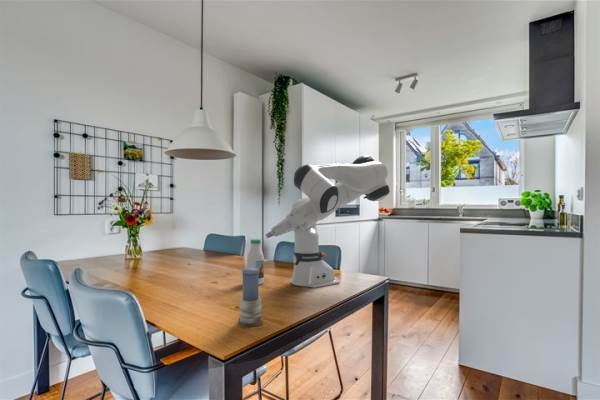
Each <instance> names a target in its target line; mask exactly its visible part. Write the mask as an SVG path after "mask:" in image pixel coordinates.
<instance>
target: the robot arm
mask: <svg viewBox="0 0 600 400" xmlns="http://www.w3.org/2000/svg"><path fill="white" fill-rule="evenodd" d="M388 174H389V171H388V168H387V166H386V165H385V164H384V163H383V162H381V161H375V159H374V158H373V156H371V155H369V154H364V155H360V156H358V157H357V158H356V159H354V161H353V162H352V163H351V164H350V163H343V162H342V163H341V162H339V163H337V162H336V163H329V164H328V163H327V164H318V165H314V164H310V163H309V164H304V165H302V166H300V167H298V168H297V169H296V170H295V171H294V174H293V175H294V176H293V185H294V187H296V188H297V189H298V190H299V191H300V192H302V193H303V194H304V195H305V196H306V197H304V198H298V199H296V201H294V203H293V204H292V206H291V211H290V212H289V213H288V214H287V216H285V218H284V219H282V220H281V221H280V222H278V223H276V225H274V226H273V227H272V228H270V231H268V232H267V233H265V238H266V239H270V238H272V237H280V236H282V235H284V234H287V233H289V232H294V251H293V256H292V257H293V260H292V261H293V272H292V277H291V280H290V283H291V284H292V285H293V286H294V285H295V286H298V287H299V286H300V287H309V288H313V289H314V288H320V287H326V286H331V285H332V286H333V285H336V284H340V283H341V282H340V279H339V278H338V277H336V276H335V275H336V274H335V271H334V268H333V267H332V266H330V264H328V263H327V262H326V261H325V260H323V258H326V257H327V253H324V252H320V251H319V232H318V228H317V223H318V222H319V221H323V220H324V219H326V218H328V217H329V216H330V215H332V214H333V213H335V212H336V210H338V209H339V208H341V207H344V206H346V205H348V204H349V203H352V202H353V201H355V200H357V199H358V198H359V197H361V196H362V195H364V196H363V199H364V200H365V199H367V200H368V201H371V202H379V201H382V200H384V199H385V198H386V197H387V196H388V195H389V194H390V186H389V185H388V183H387V181H386V179H387V177H388ZM331 180H334V181H336V183H335V184H334V183H333V182H332V181H331Z"/></svg>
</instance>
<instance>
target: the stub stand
mask: <svg viewBox="0 0 600 400" xmlns="http://www.w3.org/2000/svg"><path fill="white" fill-rule="evenodd" d="M262 309H263V307H262V297H261V296H259V295H258V300H255V301H244V300H243V296H241V297H240V298H239V317H238V321H239V323H240V325H241V327H242V329H246V328H252V327H258V326H263V324H264V323H263V320H262V313H263V312H262Z"/></svg>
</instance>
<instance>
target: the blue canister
mask: <svg viewBox="0 0 600 400" xmlns="http://www.w3.org/2000/svg"><path fill="white" fill-rule="evenodd" d="M241 274H242V297H243V300H244V301H255V300H258V296H259V285H258V280H259V268H254V267H249V268H247V267H245V268H244V267H243V268H242V269H241Z"/></svg>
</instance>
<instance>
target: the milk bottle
mask: <svg viewBox="0 0 600 400" xmlns="http://www.w3.org/2000/svg"><path fill="white" fill-rule="evenodd" d="M261 241H262V240H261V239H259V238H254V239H253V238H252V239H250V249H249V251H248V254H247V256H246V257H247V258H246V260H247V261H246V268H249V267H254V268H259V280H258V286H259V285H262V284H264V283H265V256H264V253H263V251H262V248H261V243H262V242H261Z"/></svg>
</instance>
